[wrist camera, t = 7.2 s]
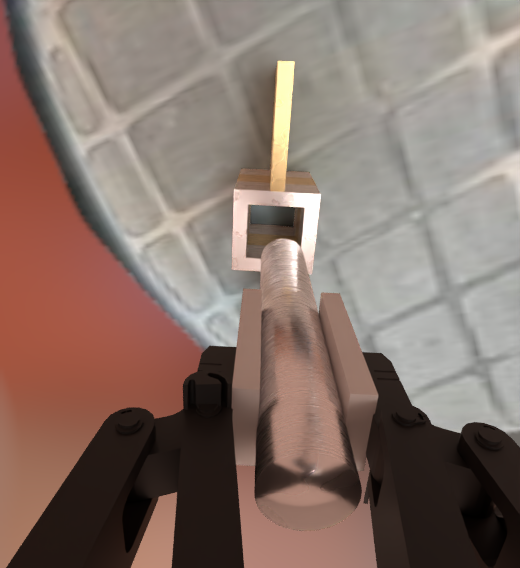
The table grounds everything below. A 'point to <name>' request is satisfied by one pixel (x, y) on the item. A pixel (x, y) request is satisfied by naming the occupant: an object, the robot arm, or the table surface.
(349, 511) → the hinge pin
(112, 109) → the table surface
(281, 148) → the hinge
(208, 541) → the robot arm
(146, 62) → the table surface
